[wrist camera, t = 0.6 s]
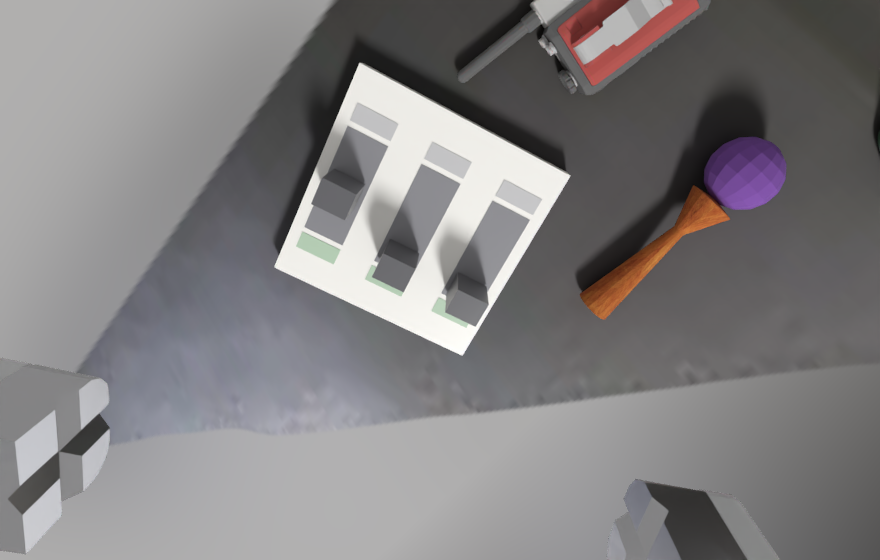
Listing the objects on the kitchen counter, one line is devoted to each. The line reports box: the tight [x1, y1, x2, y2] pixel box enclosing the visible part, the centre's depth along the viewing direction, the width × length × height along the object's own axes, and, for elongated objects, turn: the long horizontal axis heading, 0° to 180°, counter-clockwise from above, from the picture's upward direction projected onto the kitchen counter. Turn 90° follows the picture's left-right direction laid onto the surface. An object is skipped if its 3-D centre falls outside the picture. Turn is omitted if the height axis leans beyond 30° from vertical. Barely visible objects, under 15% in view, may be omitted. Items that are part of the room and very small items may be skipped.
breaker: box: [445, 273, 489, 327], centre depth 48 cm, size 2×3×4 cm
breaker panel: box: [275, 63, 570, 355], centre depth 49 cm, size 20×20×2 cm
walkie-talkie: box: [457, 0, 711, 95], centre depth 42 cm, size 9×4×20 cm
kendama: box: [580, 137, 786, 320], centre depth 47 cm, size 6×6×20 cm
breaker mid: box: [372, 239, 419, 292], centre depth 47 cm, size 2×3×4 cm
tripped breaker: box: [311, 169, 365, 220], centre depth 45 cm, size 2×3×4 cm
